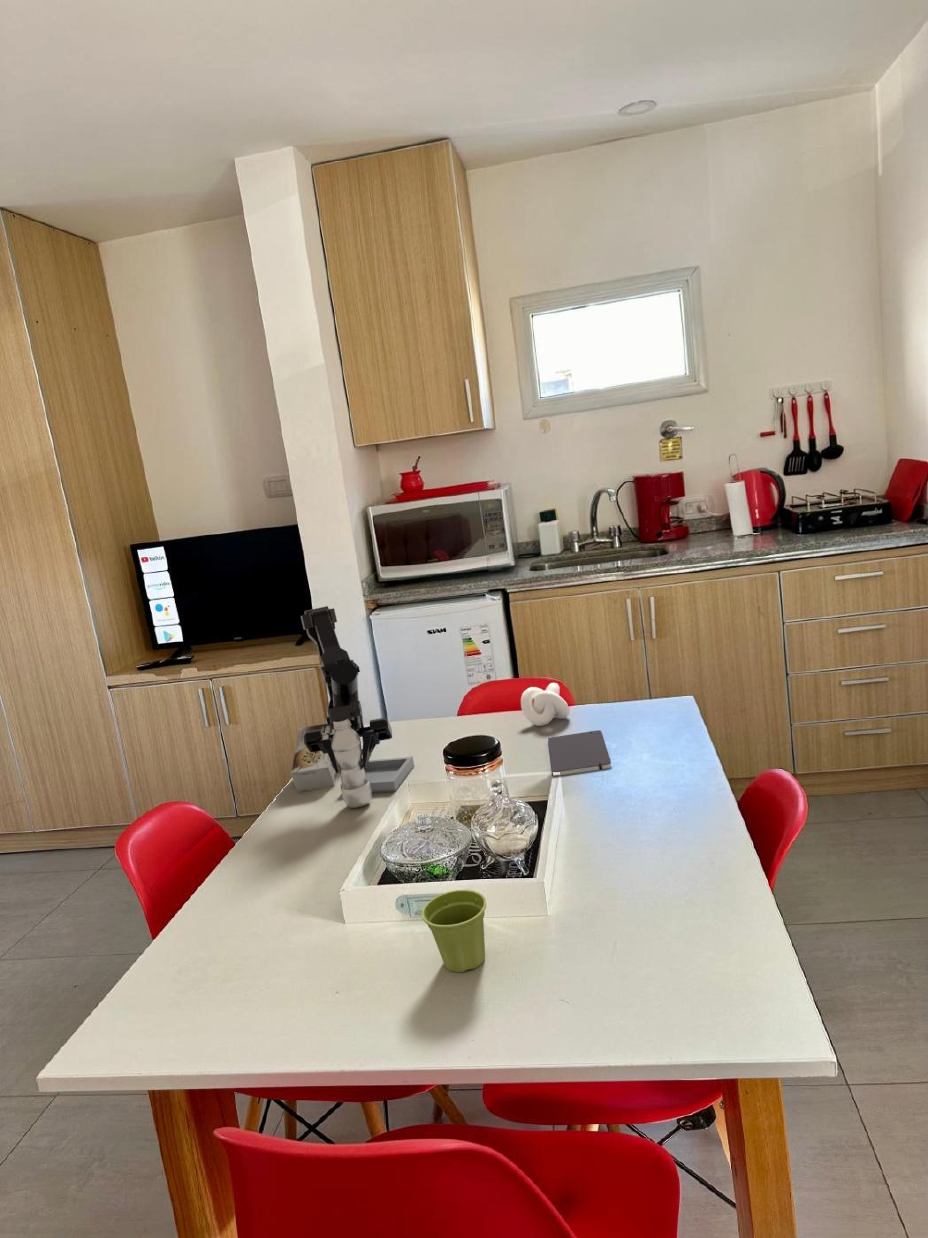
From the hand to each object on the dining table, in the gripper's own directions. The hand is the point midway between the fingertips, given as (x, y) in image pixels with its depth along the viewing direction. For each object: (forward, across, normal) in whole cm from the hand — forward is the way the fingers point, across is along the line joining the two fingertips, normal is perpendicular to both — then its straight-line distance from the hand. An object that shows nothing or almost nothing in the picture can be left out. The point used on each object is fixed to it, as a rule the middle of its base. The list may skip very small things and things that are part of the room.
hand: (350, 770), depth 185 cm
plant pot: (+50, +22, -38) cm, 67 cm away
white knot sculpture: (-18, +46, +31) cm, 58 cm away
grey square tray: (-4, +3, +16) cm, 17 cm away
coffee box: (-6, -12, +14) cm, 19 cm away
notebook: (0, +50, +13) cm, 51 cm away
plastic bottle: (+5, 0, +7) cm, 9 cm away
